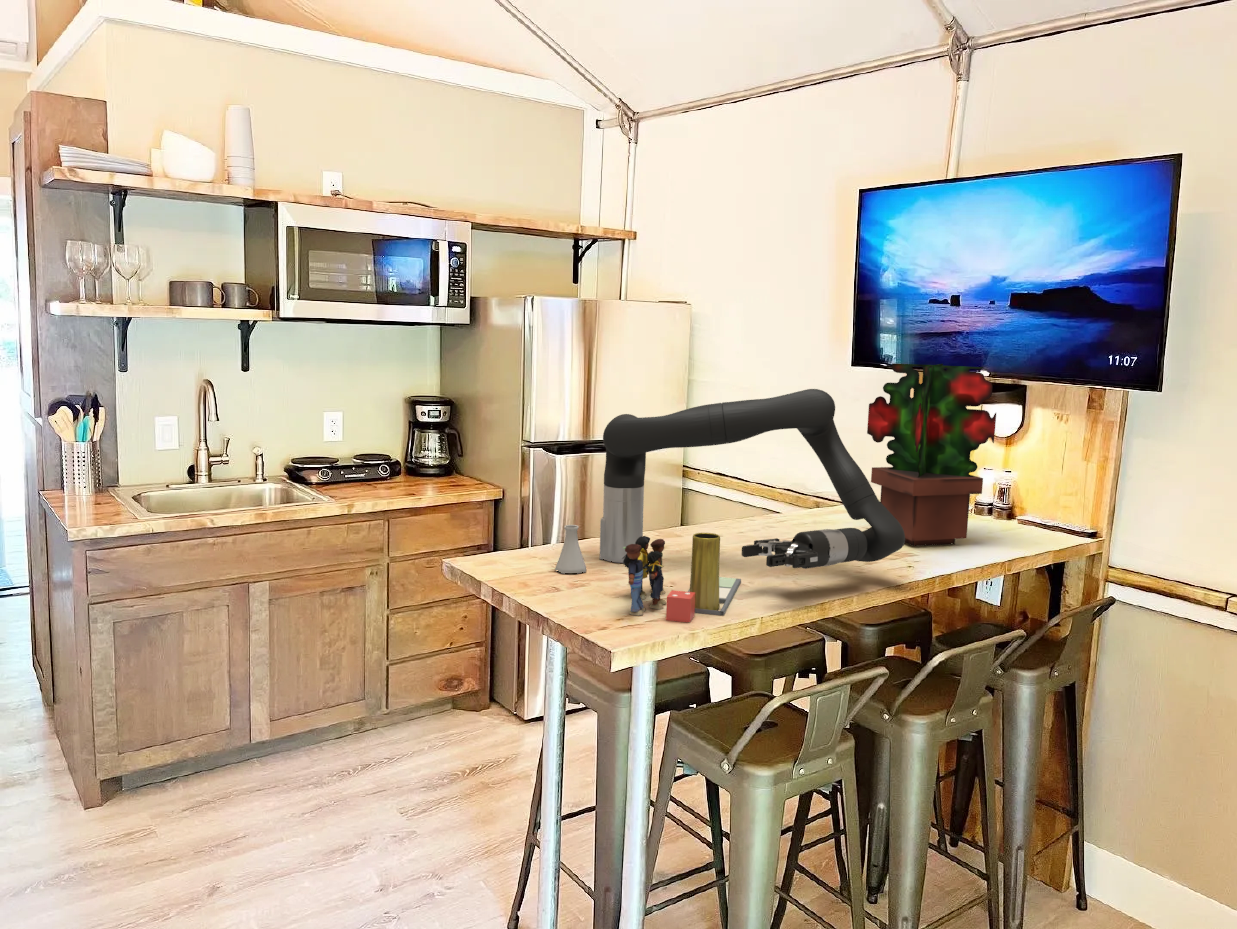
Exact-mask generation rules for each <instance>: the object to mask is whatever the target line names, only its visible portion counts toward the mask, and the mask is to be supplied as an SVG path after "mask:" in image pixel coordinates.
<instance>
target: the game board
mask: <svg viewBox="0 0 1237 929" xmlns="http://www.w3.org/2000/svg"><path fill="white" fill-rule="evenodd" d="M741 583H742V579H741V578H735V577H734V578H733V577H725V576H724V577H723V576H719V604H723V605H722V607H721V608H720V610H706V609H696V608H695V614H704V615H713V616H714V615H715V616H722V617H723V616H725V614H726V612H727V610H728V608H729V607H730V604H731V603H732V601H733V598H734V597H735V595H736V592H737V591H738V589H739V587H740V585H741ZM687 592H690V588H689V589H688V590H687Z"/></svg>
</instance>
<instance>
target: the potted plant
mask: <svg viewBox="0 0 1237 929" xmlns="http://www.w3.org/2000/svg"><path fill="white" fill-rule="evenodd" d="M914 367H921V368H922V379H921V380H922V382H921V383H920V372H919V371H918V370H917V369H914ZM891 369H892V371H893V372H894V373H897V374H906V375H904V376H902V377H900V378H899V380H898V382H886V383H884V385H883V386H882V389H883V392H884V393H886V394H887V395H889V402H887V400H886V398H885V397H884V396H877V397H876V398H875V399H874V401H873V402H870V403H868V411H867V412H868V413H867V414H868V415H867V427H866V428H867V431H866V434H867V435H869V436H871V438H872V441H873V442H875V443H882V442H883V441H884V439H885V438H886V437H889V438H893V439H890V440H889V441H887V443H886V448H887V449H888V450H889V451H891V452H893V453H889V454H887V455H886V457H885V461H886V463H887V464H888V465H890V466H881V467H878V466H877V467H871V478H870V483H873V484H875V485H878V486H881V487H880V500H879V501H880V502H881V503H882V504H883V505H884V506H885V507H886V508H887V510H888V511H889V512H890V513H891V514H892V515H893V516H894V517H895V518H896V519H897V520H898V522H899V523H900V524H901V526H902V528H903V530H904V533H905V543H904V544H908V545H910V546H912V547H927V546H945V545H946V546H950V545H955V541H956V540H957V539H960V540H961V539H967V536H968V533H967V532H968V522H969V510H970V500H971V498H970V497H971V495H979V494H980V495H982V493H983V483H984V478H983V477H980V476H976V475H972V474H970V473H974V472H976V471H977V469H978V465H977V463H976V462H975V461H973V460H971V452H973V451H976V450H978V449H979V447H980V445H984V444H986V443H987V442H988V440H989V439H991V442H992V443H993V444H994V443H995V436H996V435H995V432H996V423H997V422H996V421H997V412H995V413H994V414H993V416H992V417H991V415H990V412H989V411H987V410H985V409H976V408H975V409H973V408H972V409H971V408H967V407H980V406H981V405H982V404H983V402H984V401H985V400H989V399H990V398H991V397H992V395H993V387H994V386H993V383H992V382H991V381H990V380H987V379H986V377H985V375H984V374H983V373H982V372H978V371H976V372H975V371H970V370H982V369H984V366H963V365H944V363H938V364H921V363H920V364H917V363H916V364H915V363H896V362H895V363H893V362H892V363H891ZM945 369H946V370H945ZM911 389H913V393H912V394H913V396H912V397H911Z"/></svg>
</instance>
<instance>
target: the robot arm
mask: <svg viewBox="0 0 1237 929" xmlns="http://www.w3.org/2000/svg"><path fill="white" fill-rule="evenodd" d="M835 414H836V403H835V400H834V399H833V397H832V396H831V395H830V393H828V392H826V391H824V390H822V389H819V388H807V389H804V390H798V391H795V392H791V393H786V394H782V395H778V396H777V395H776V396H773V397H768V398H757V399H756V398H755V399H746V400H743V399H742V400H737V401H725V402H724V401H723V402H717V403H711V404H710V403H709V404H704V405H697V406H694V407H691V408H690V407H689V408H686V409H683V410H679V411H677V412H672V413H669V414H665V415H661V416H660V415H659V416H645V417H637V416H636V415H633V414H632V413H631V414H630V413H623V414H619V415H616V416H615V417H614V418H612V420H610V421H609V422H608V423H607V425H606V426H605V428H604V430H603V434H602V442H603V445H604V447H605V465H604V471H603V472H604V473H603V508H602V511H603V512H602V514H603V516H602V517H601V518H600V520H599V521H600V525H599V526H600V528H599V531H600V532H599V533H600V534H599V560H603V559H604V560H605V561H608V562H611V561H612V562H611V563H622V564H623V561H624V559H625V557H624V556H625V555H626V554H627V552H625V549H624V548H623V547H626V546H628V545H630V544H635V542H636V540H637V539H638V538H639V537H641V536H644V502H645V501H644V498H645V475H646V460H647V453H650V452H654V451H658V450H659V451H660V450H665V449H675V448H678V449H679V448H681V449H682V448H698V447H709V446H710V447H711V446H718V445H728V444H733V443H737V442H741V441H744V440H748V439H750V438H754V437H756V436H759V435H761V434H764V433H767V432H772V431H777V430H788V429H789V430H791V429H796V430H798V432H799V433H800V435H801V436H802V437H803V438H804V439H805V441H806V442H807V443H808V444H809V446H810V447H811V448H812V451H813V452H814V453H815V455H816V456H817V458H818V459H819V461H820V463H821V464H822V466H823V468H824V470H825V472H826V473H827V476H828V477H829V480H830V481H831V484H832V485H833V487H834V489H835V491H836V493H837V495H838V498H839V499H840V501H841V502H842V505H843V507H844V508H845V510H846V513H847V514H848V515H849V517H850V518H851V520H855V521H859V520H865V522H867V524H869V526H870V527H869V528H866V529H865V530H861V529H860V528H856V527H844V528H837V529H836V528H834V529H830V528H829V529H828V528H825V529H817V530H816V529H815V530H807V531H806V530H805V531H801V532H798V533H796V534H795V535H794V536H793V538H792V540H787V539H784V540H782V541H781V540H780V538H777V537H776V538H770V539H758V540H756V539H755V540H754V541H753V544H749V545H748V544H747V545H743V546H742V547H741V556H742V557H744V558H750V557H757V556H758V557H760V556H762V557H766V562H765V563H766V566H767V567H769V568H775V567H781V566H784V567H788V568H789V567H792V568H793V569H800V568H801V569H805V570H807V569H813V568H815V569H816V568H821V567H828V566H834V565H837V564H841V563H848V562H854V561H855V562H861V563H862V562H865V563H872V562H877V561H878V562H879V561H881V560H883V559H885V558H887V557H888V556H890V555H892V554H894V553H896V552H898V551H899V550H901V549H902V548H903V547H904V545H905V544H906V543H905V533H904V530H903V528H902V526H901V524H900V523H899V522H898V520H897V519H896V518H895V517H894V516H893V515H892V514H891V513H890V512H889V511H888V510H887V508H886V507H885V506H884V505H883V504H882V503H881V502H880V500H879V498H878V497H877V495H876V492H875V491H874V489H873V486H872V485H871V484H870V481H869V480H868V479H867V477H866V475H865V473H864V472H863V471H862V468H860V466H859V465H858V463H857V462H856V461H855V460H854V458H853V457H852V455H851V454H850V453H849V451H848V450H847V448H846V446H845V445H844V443H843V441H842V439H841V437H840V434H839V431H838V429H837V427H836V423H835V421H834V418H835ZM773 553H774V554H773ZM623 557H624V559H622V558H623ZM604 560H603V561H604Z"/></svg>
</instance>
